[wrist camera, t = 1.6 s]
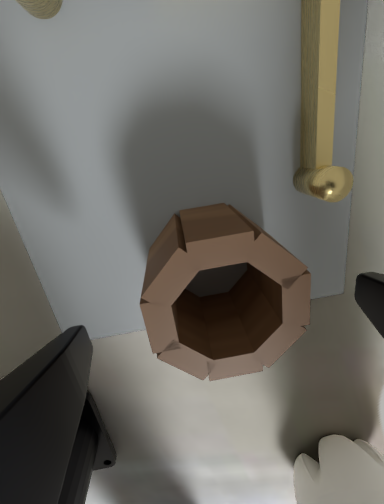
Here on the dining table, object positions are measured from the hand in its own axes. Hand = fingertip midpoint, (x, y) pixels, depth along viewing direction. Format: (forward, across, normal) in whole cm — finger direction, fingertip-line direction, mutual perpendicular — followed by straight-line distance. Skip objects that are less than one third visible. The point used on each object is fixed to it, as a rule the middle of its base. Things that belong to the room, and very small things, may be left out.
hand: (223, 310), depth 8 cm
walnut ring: (+4, 0, 0) cm, 4 cm away
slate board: (+4, 0, -5) cm, 7 cm away
